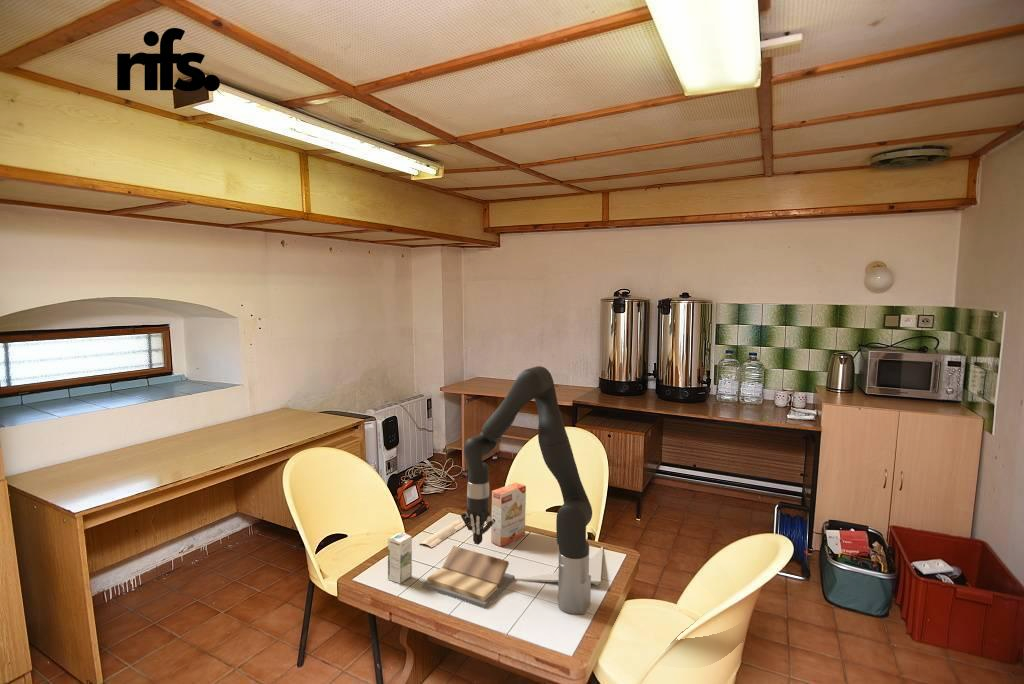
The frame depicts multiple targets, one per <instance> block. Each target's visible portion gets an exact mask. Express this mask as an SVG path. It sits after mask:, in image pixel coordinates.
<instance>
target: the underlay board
mask: <svg viewBox="0 0 1024 684" xmlns="http://www.w3.org/2000/svg"><path fill="white" fill-rule="evenodd" d="M515 578H516V576H515V575H514V574H511V573H507V572H505V574H504V576H503V579H502V581H501V583H500V585H499V586H497V590H496V591H495V592H494V593H493V594H492V595H491V596H490V597H488V598H487V599H486V600H485V601H481V600H478V599H475V598H472V597H469V596H466V595H463V594H460V593H457V592H454V591H451V590H448V589H445V588H442V587H439V586H436V585H433V584H430V583H427V580H425V581H424V582H423V583H422V588H425V589H426V590H430V591H433V592H437V593H439V594H443V595H444V594H445V595H444V596H447V595H448V596H447V597H450V596H451V597H450V598H453V597H454V599H456V598H457V600H459V599H460V600H459V601H462V600H463V602H465V601H466V602H465V603H468V602H469V603H468V604H471V603H472V604H471V605H474V606H477V607H479V606H480V608H482V607H483V608H482V609H485V607H486V606H487V605H488V604H489V605H490V604H491V603H492V602H493V601H494V600H495V599H496V598H497V597H498V596H499V595H500V594H501V593H503V591H504V590H505V589H507V587H508V586H509V585H510V584H511V583H513V582H514V581H515V580H514V579H515ZM489 605H488V606H489ZM488 606H487V607H488ZM487 607H486V608H487Z"/></svg>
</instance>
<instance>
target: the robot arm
mask: <svg viewBox="0 0 1024 684" xmlns="http://www.w3.org/2000/svg"><path fill="white" fill-rule="evenodd" d="M556 393H557V392H556V387H555V382H554V379H553V376H552V373H551V372H550V371H549V369H547V368H545V367H544V366H541V365H538V366H534V367H530V368H527V369H524V370H523V371H522V372H520V373H519V374H518V376H517V378H516V379H515V381H514V382H513V384H512V386H511V388H510V390H509V391H508V393H507V394H506V396H505V398H504V399H503V400H502V402H501V403H500V404H499V406H498V407H497V408H496V409H495V410H494V412H493V413H492V414H491V415H490V416H489V417H488V419H487V420H486V421H485V423H483V425H482V427H481V432H480V433H479V434H477V435H475V436H471V437H469V438H467V440H466V441H465V443H464V447H463V455H464V457H465V458H464V459H465V463H466V467H467V484H466V485H467V489H466V507H467V508H466V511H465V512H463V513H462V514H460V518H461V519H462V522H464V523H465V525H466V526H465V527H466V529H467V530H468V531H471V532H472V540H473V543H474V545H480V544H481V543H482V542H483V535H484V534H485V533H486V532H487V531H490V530H489V529H491V526H492V525H493V524H494V523H495V519H492V516H491V515H490V509H489V508H490V478H489V477H490V475H489V474H490V468H489V465H488V464H487V463H486V462H483V460H482V459H483V458H482V457H484V456H486V455H488V454H490V453H491V452H492V451H494V449H495V448H496V446H497V444H498V443H499V440H500V439H501V437H502V436H504V434H505V433H506V432H508V430H509V429H510V428H511V426H512V424H513V423H514V421H515V419H516V417H517V415H518V413H519V412H520V411H521V410H522V409H523V408H524V407H525V406H526V405H527V404H528V403H529V402H531V401H532V400H534V402H535V405H536V407H537V412H538V413H537V414H538V428H537V440H538V445H539V448H540V452H541V455H542V459H543V461H544V464H545V466H546V467H547V469H548V470H549V471H550V472H551V474H552V475H553V476H554V478H555V480H556V481H557V483H558V485H559V488H560V491H561V496H562V501H563V504H562V505H561V506H560V507H559V509H557V514H556V521H555V523H556V526H555V528H556V543H557V546H558V572H559V573H558V582H557V583H558V586H557V587H558V589H557V592H558V593H557V595H558V596H557V603H558V604H557V606H558V608H559V610H561V611H562V612H564V613H566V614H570V615H585V614H586V612H587V611H588V609H589V608H590V606H591V598H592V596H591V595H592V594H591V593H592V592H591V591H592V590H591V589H592V585H591V584H592V583H591V575H589V559H590V545H589V542H588V541H587V526H588V525H589V523H590V522H591V521H592V517H593V508H592V504H591V503H590V499H589V498H588V495H587V493H586V490H585V487H584V486H583V483H582V480H581V477H580V473H579V469H578V467H577V466H578V465H577V464H576V460H575V457H574V453H573V450H572V446H571V443H570V439H569V437H568V434H567V433H568V432H567V430H566V426H565V423H564V420H563V417H562V414H561V411H560V407H559V402H558V397H557V394H556ZM485 522H486V523H485ZM485 524H486V525H485Z"/></svg>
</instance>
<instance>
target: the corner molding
mask: <svg viewBox="0 0 1024 684" xmlns="http://www.w3.org/2000/svg"><path fill="white" fill-rule="evenodd" d="M603 553H604V546H601V547H600V549H599V550H598V551H597V552H596V554H594V555H593V556H592V557H589V575H591V584H592V585H595V586H598V585H599V584H601V581H602V571H603V557H604V554H603ZM558 573H559V571H555V572H551V573H547V574H540V575H535V576H534V575H533V576H524V577H515V579H514V580H513V581H519V582H520V581H521V582H544V583H547V582H548V583H558Z"/></svg>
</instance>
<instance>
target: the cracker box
mask: <svg viewBox="0 0 1024 684" xmlns="http://www.w3.org/2000/svg"><path fill="white" fill-rule="evenodd" d="M526 496H527V486H526V485H525V484H522V483H520V482H513V483H510V484H508V485H505V486H502V487H499V488H497V489H494V490H491V518H492V519H495V523H494V524H493V525H492V526H491V527H490V530H491V532H490V534H491V535H490V536H491V537H490V539H491V540H490V542H491V543H492V544H494V545H496V546H498V547H500V548H502V547H503V546H505V545H508V544H510V543H512V542H514V541H516V540H519V539H520V538H522V537H525V536H526V535H525V534H526V505H527V503H526V501H527V497H526ZM518 538H519V539H518Z"/></svg>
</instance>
